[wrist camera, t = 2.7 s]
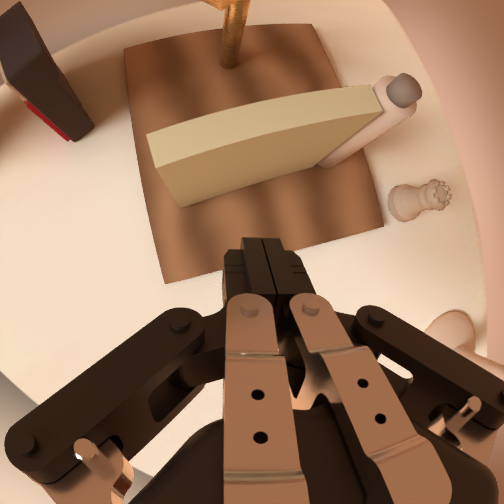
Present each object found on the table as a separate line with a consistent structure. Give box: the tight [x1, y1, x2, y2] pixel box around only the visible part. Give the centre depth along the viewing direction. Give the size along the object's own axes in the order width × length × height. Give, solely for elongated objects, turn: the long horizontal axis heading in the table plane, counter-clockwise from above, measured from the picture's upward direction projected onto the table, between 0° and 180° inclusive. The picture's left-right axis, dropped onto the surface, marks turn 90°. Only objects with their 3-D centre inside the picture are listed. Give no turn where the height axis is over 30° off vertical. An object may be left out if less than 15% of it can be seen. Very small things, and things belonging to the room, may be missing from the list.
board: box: [124, 24, 384, 284], centre depth 30 cm, size 24×28×1 cm
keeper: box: [201, 0, 250, 69], centre depth 22 cm, size 7×5×18 cm
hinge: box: [146, 73, 422, 209], centre depth 22 cm, size 18×3×16 cm, turn 109°
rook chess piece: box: [388, 179, 451, 222], centre depth 30 cm, size 4×4×8 cm
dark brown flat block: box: [0, 2, 94, 142], centre depth 20 cm, size 11×4×15 cm, turn 37°
